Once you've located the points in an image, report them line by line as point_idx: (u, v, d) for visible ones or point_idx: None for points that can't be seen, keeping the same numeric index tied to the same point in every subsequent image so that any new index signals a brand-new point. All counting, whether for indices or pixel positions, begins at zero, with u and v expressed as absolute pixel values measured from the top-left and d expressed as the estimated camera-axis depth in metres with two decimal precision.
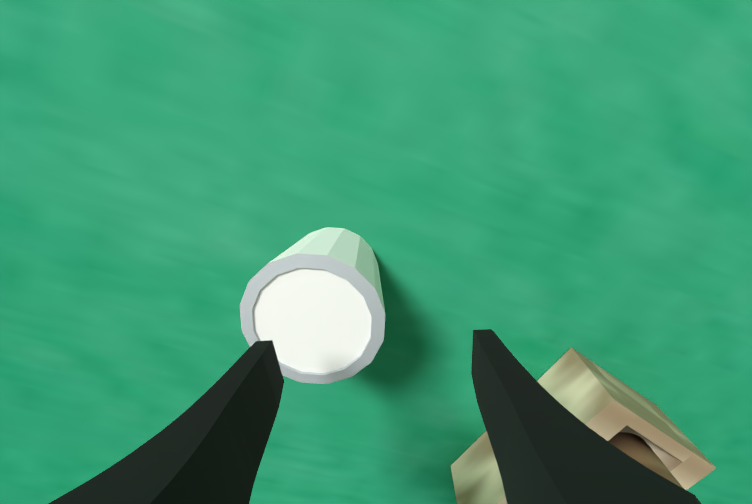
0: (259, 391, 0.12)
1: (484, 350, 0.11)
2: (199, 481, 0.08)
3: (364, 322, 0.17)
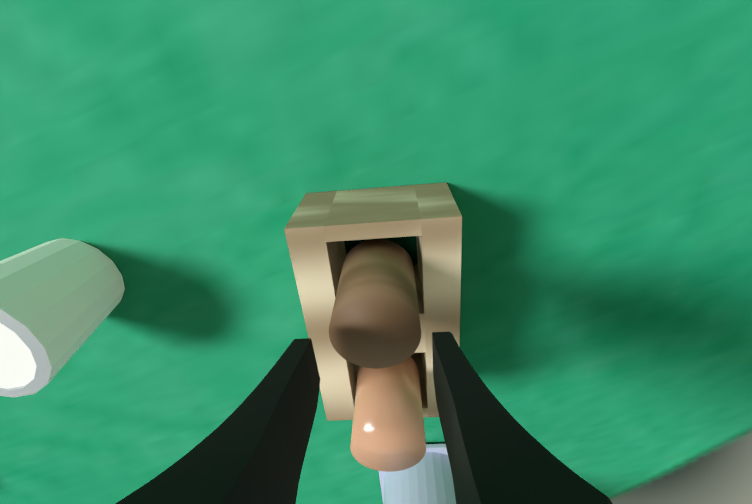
0: (302, 389, 0.12)
1: (438, 352, 0.11)
2: (258, 480, 0.08)
3: None
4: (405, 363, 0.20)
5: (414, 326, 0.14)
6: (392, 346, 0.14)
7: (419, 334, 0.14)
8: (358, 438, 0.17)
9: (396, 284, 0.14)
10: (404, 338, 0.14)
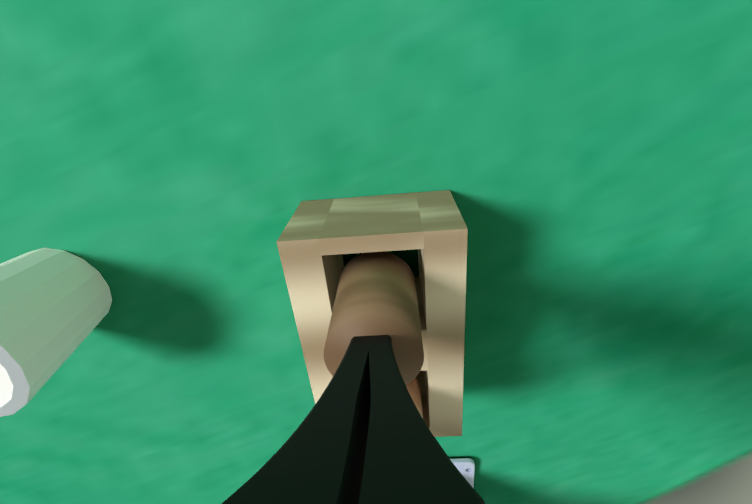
0: (368, 387, 0.11)
1: (369, 355, 0.11)
2: (351, 478, 0.08)
3: None
4: None
5: (416, 349, 0.13)
6: None
7: (422, 357, 0.13)
8: None
9: (397, 303, 0.13)
10: (405, 361, 0.13)
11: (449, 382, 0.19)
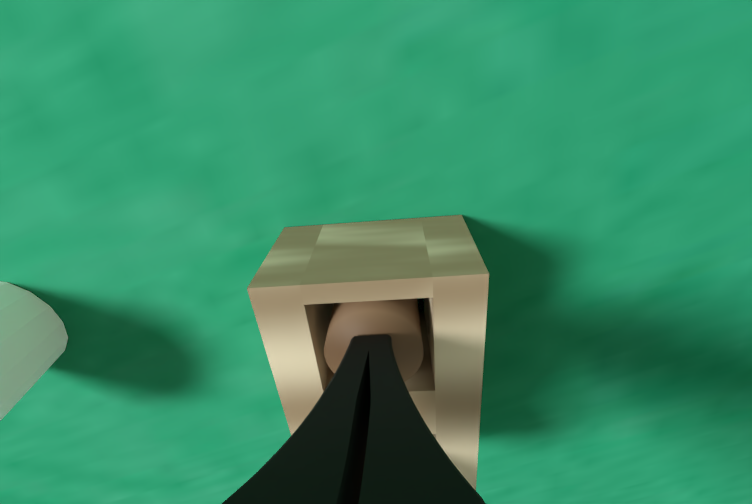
0: (368, 387, 0.11)
1: (369, 355, 0.11)
2: (351, 478, 0.08)
3: None
4: None
5: (416, 345, 0.13)
6: None
7: (421, 354, 0.13)
8: None
9: (397, 300, 0.13)
10: (405, 358, 0.13)
11: (461, 447, 0.16)
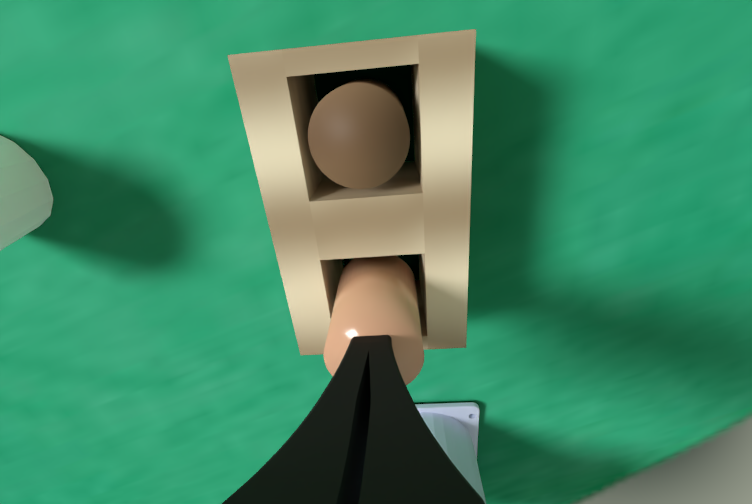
0: (368, 387, 0.11)
1: (369, 355, 0.11)
2: (351, 478, 0.08)
3: None
4: (398, 265, 0.16)
5: (402, 127, 0.13)
6: (378, 157, 0.13)
7: (407, 139, 0.13)
8: (334, 342, 0.13)
9: (383, 88, 0.13)
10: (391, 145, 0.13)
11: (451, 271, 0.15)
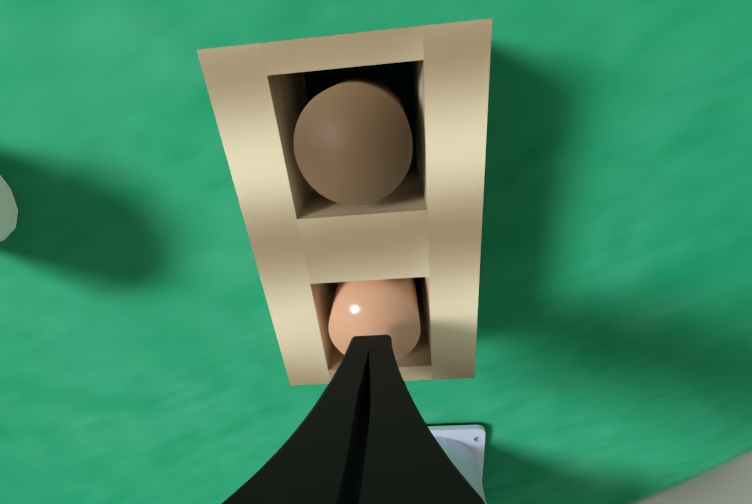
0: (368, 387, 0.11)
1: (369, 355, 0.11)
2: (351, 478, 0.08)
3: None
4: None
5: (403, 135, 0.11)
6: (376, 169, 0.11)
7: (410, 148, 0.11)
8: (338, 316, 0.14)
9: (381, 88, 0.11)
10: (391, 155, 0.11)
11: (459, 296, 0.14)
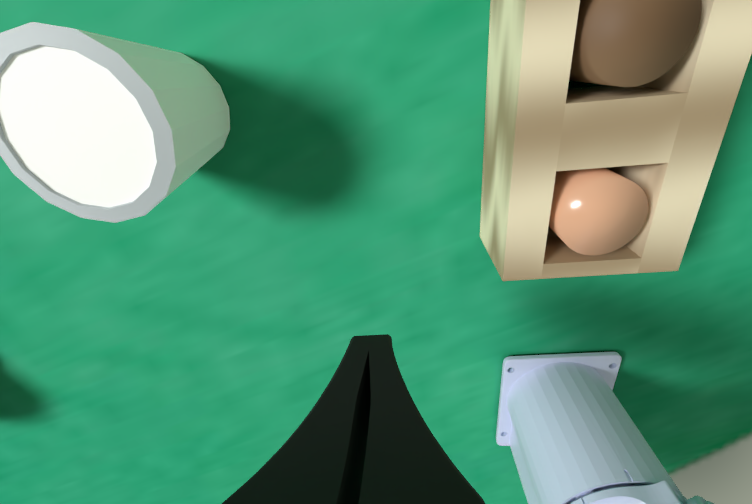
0: (368, 387, 0.11)
1: (369, 355, 0.11)
2: (351, 477, 0.08)
3: (113, 85, 0.12)
4: None
5: (693, 15, 0.12)
6: (658, 49, 0.13)
7: (695, 28, 0.12)
8: (574, 203, 0.15)
9: None
10: (675, 36, 0.13)
11: (690, 183, 0.15)
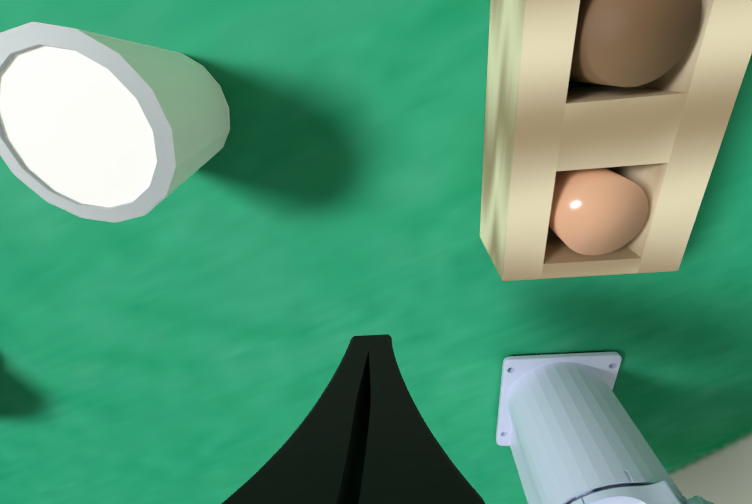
0: (368, 387, 0.11)
1: (369, 355, 0.11)
2: (351, 477, 0.08)
3: (113, 84, 0.12)
4: None
5: (693, 15, 0.12)
6: (658, 49, 0.13)
7: (695, 28, 0.12)
8: (574, 203, 0.15)
9: None
10: (675, 36, 0.13)
11: (690, 183, 0.15)
